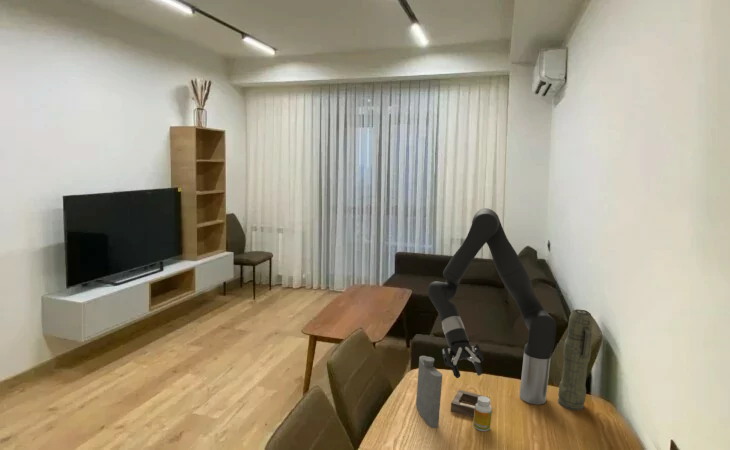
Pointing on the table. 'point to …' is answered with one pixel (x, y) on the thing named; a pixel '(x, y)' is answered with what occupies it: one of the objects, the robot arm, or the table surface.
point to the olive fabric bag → (576, 360)
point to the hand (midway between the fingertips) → (469, 376)
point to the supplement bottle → (482, 414)
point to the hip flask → (428, 391)
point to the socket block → (462, 407)
